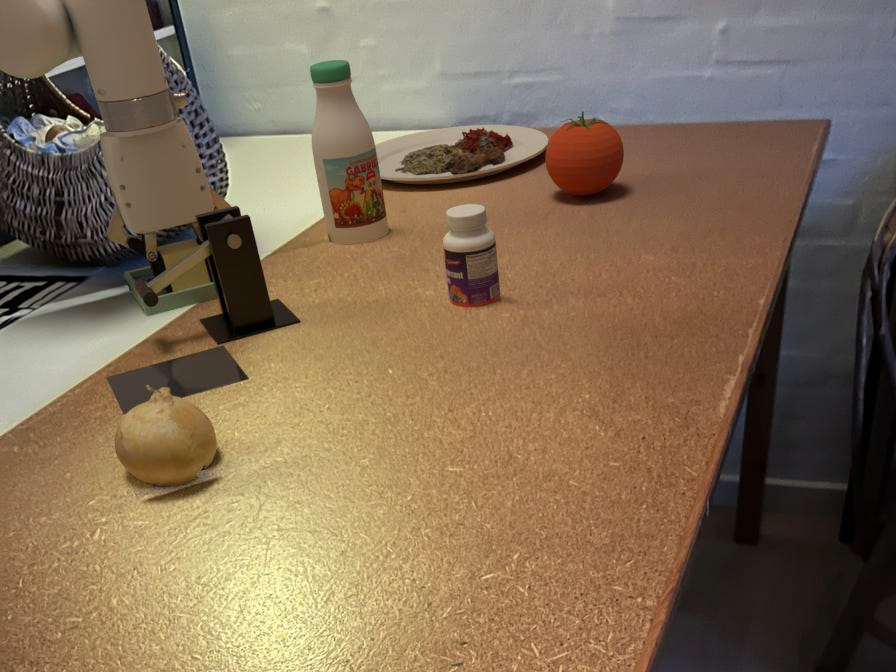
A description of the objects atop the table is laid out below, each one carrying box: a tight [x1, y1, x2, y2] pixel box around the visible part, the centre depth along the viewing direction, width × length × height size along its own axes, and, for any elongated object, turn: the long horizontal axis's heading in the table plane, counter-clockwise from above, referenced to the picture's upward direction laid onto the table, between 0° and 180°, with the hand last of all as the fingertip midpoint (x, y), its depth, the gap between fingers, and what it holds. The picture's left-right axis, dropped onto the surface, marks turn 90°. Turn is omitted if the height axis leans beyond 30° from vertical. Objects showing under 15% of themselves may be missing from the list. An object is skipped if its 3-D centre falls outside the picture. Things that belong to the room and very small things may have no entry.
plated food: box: [375, 124, 549, 185], centre depth 149 cm, size 30×30×3 cm
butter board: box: [105, 344, 250, 416], centre depth 95 cm, size 12×10×1 cm
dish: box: [123, 265, 218, 317], centre depth 115 cm, size 12×12×3 cm
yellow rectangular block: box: [157, 238, 211, 292], centre depth 113 cm, size 4×4×5 cm
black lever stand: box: [195, 205, 301, 346], centre depth 101 cm, size 9×8×12 cm
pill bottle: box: [442, 203, 501, 308], centre depth 101 cm, size 5×5×10 cm
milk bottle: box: [309, 59, 389, 246], centre depth 118 cm, size 8×8×20 cm
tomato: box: [544, 111, 625, 197], centre depth 127 cm, size 10×10×10 cm
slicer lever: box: [134, 214, 233, 307], centre depth 98 cm, size 12×5×2 cm, turn 116°
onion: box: [114, 385, 218, 488], centre depth 79 cm, size 8×8×7 cm
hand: (188, 284), depth 115 cm, fingers closed on yellow rectangular block, 4 cm apart
